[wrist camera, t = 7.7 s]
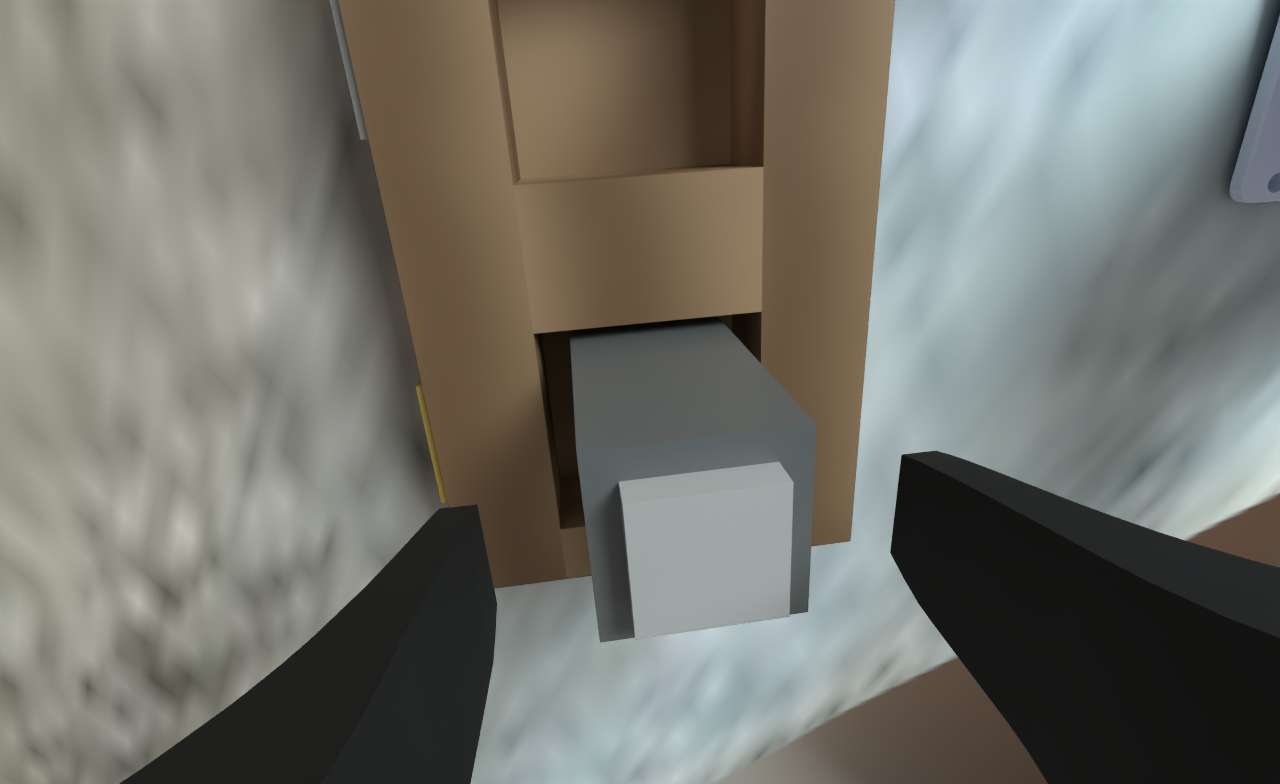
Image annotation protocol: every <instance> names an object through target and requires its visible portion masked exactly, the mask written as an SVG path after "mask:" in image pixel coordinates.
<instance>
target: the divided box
mask: <svg viewBox="0 0 1280 784" xmlns="http://www.w3.org/2000/svg"><path fill="white" fill-rule="evenodd" d="M329 1H330V5H331V10H332V14H333V19H334V23H335V27H336V32H337V36H338V41H339V45H340V50H341V54H342V59H343V63H344V68H345V72H346V77H347V81H348V86H349V90H350V95H351V99H352V104H353V108H354V113H355V117H356V122H357V126H358V131H359V135H360V140H369V144H370V148H371V153H372V158H373V162H374V167H375V171H376V176H377V181H378V185H379V190H380V194H381V199H382V204H383V208H384V213H385V217H386V222H387V227H388V231H389V236H390V240H391V245H392V249H393V254H394V259H395V263H396V268H397V272H398V277H399V282H400V286H401V291H402V295H403V300H404V305H405V309H406V314H407V318H408V323H409V327H410V332H411V337H412V341H413V346H414V350H415V355H416V360H417V364H418V369H419V373H420V378H421V379H420V380H419V382H418V384H417V385H416V391H417V396H418V400H419V405H420V409H421V414H422V418H423V423H424V427H425V432H426V436H427V441H428V445H429V450H430V454H431V459H432V463H433V468H434V472H435V477H436V481H437V486H438V490H439V495H440V499H441V504H444V503H448V506H449V508H450V507H459V506H467V505H476V504H477V505H478V510H479V515H480V520H481V525H482V531H483V536H484V541H485V546H486V551H487V556H488V561H489V566H490V571H491V576H492V581H493V586H494V588H501V587H509V586H516V585H524V584H531V583H539V582H547V581H554V580H562V579H569V578H577V577H584V576H592V573H591V565H590V557H589V549H588V541H587V533H586V525H585V517H584V509H583V501H582V493H581V485H580V477H579V469H578V461H577V453H576V436H575V418H574V399H573V381H572V363H571V345H570V330H577V329H587V328H598V327H608V326H618V325H629V324H639V323H649V322H660V321H670V320H681V319H691V318H701V317H712V316H718V318H719V319H720V320H721V321H722V322H723V323H724V324H725V325H726V326H727V327H728V328H729V330H730V331H731V332H732V333H733V334H734V335H735V336H736V337H737V338H738V339H739V340H740V341H741V343H742V344H743V345H744V346H745V347H746V348H747V349H748V350H749V351H750V352H751V353H752V354H753V356H754V357H755V358H756V359H757V360H758V361H759V362H760V363H761V364H762V365H763V366H764V367H765V369H766V370H767V371H768V372H769V373H770V374H771V375H772V376H773V377H774V378H775V379H776V381H777V382H778V383H779V384H780V385H781V386H782V387H783V388H784V389H785V390H786V391H787V392H788V394H789V395H790V396H791V397H792V398H793V399H794V400H795V401H796V402H797V403H798V404H799V405H800V407H801V408H802V409H803V410H804V411H805V412H806V413H807V414H808V415H809V416H810V417H811V418H812V420H813V421H814V422H815V423H816V424H817V425H816V447H815V469H814V490H813V512H812V534H811V546H818V545H825V544H833V543H840V542H848V541H850V538H851V526H852V514H853V502H854V490H855V478H856V466H857V454H858V442H859V430H860V418H861V406H862V394H863V381H864V369H865V357H866V345H867V333H868V321H869V309H870V297H871V285H872V273H873V261H874V249H875V237H876V224H877V212H878V200H879V188H880V176H881V164H882V152H883V140H884V128H885V116H886V104H887V92H888V80H889V67H890V55H891V43H892V31H893V19H894V7H895V0H329Z"/></svg>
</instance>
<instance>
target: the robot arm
mask: <svg viewBox="0 0 1280 784" xmlns="http://www.w3.org/2000/svg"><path fill="white" fill-rule="evenodd" d="M1269 181H1270V182H1269ZM1268 183H1269V184H1268ZM1229 192H1230V195H1231V198H1232V199H1233V200H1234V201H1237V202H1245V203H1260V202H1272V201H1280V16H1279V19H1278V23H1277V26H1276V30H1275V33H1274V36H1273V40H1272V43H1271V47H1270V50H1269V53H1268V57H1267V60H1266V64H1265V67H1264V71H1263V74H1262V77H1261V81H1260V84H1259V88H1258V91H1257V94H1256V98H1255V101H1254V105H1253V108H1252V112H1251V115H1250V118H1249V122H1248V125H1247V129H1246V132H1245V135H1244V139H1243V142H1242V146H1241V149H1240V153H1239V156H1238V159H1237V163H1236V166H1235V170H1234V173H1233V176H1232V180H1231V183H1230V190H1229ZM890 553H891V555H892V557H893V559H894V561H895V562H896V564H897V566H898V568H899V570H900V572H901V574H902V576H903V577H904V579H905V581H906V583H907V585H908V586H909V588H910V590H911V591H912V593H913V595H914V597H915V598H916V600H917V602H918V603H919V605H920V606H921V608H922V609H923V610H924V612H925V613H926V614H927V616H928V617H929V619H930V620H931V621H932V623H933V624H934V625H935V627H936V628H937V629H938V631H939V632H940V633H941V635H942V636H943V637H944V639H945V640H946V642H947V643H948V644H949V646H950V647H951V648H952V649H953V651H954V652H955V653H956V655H957V656H958V657H959V659H960V660H961V661H962V663H963V664H964V665H965V667H966V668H967V669H968V671H969V672H970V673H971V675H972V676H973V677H974V678H975V680H976V681H977V682H978V684H979V685H980V686H981V688H982V689H983V690H984V692H985V693H986V694H987V695H988V697H989V698H990V700H991V701H992V702H993V704H994V705H995V706H996V708H997V709H998V710H999V712H1000V713H1001V714H1002V715H1003V717H1004V718H1005V719H1006V721H1007V722H1008V723H1009V725H1010V726H1011V728H1012V729H1013V731H1014V732H1015V733H1016V735H1017V736H1018V738H1019V739H1020V741H1021V742H1022V743H1023V745H1024V746H1025V748H1026V749H1027V751H1028V752H1029V753H1030V755H1031V757H1032V758H1033V760H1034V762H1035V763H1036V765H1037V767H1038V768H1039V770H1040V771H1041V773H1042V775H1043V776H1044V778H1045V779H1046V781H1047V783H1048V784H1280V568H1278V567H1275V566H1271V565H1267V564H1263V563H1260V562H1256V561H1252V560H1249V559H1245V558H1242V557H1238V556H1235V555H1232V554H1228V553H1224V552H1221V551H1217V550H1214V549H1211V548H1208V547H1204V546H1201V545H1197V544H1194V543H1190V542H1187V541H1184V540H1181V539H1178V538H1175V537H1172V536H1169V535H1165V534H1162V533H1159V532H1156V531H1153V530H1151V529H1148V528H1145V527H1142V526H1139V525H1136V524H1133V523H1130V522H1128V521H1125V520H1122V519H1119V518H1116V517H1113V516H1110V515H1108V514H1105V513H1102V512H1099V511H1097V510H1094V509H1091V508H1089V507H1086V506H1083V505H1081V504H1078V503H1075V502H1073V501H1070V500H1067V499H1065V498H1062V497H1060V496H1057V495H1054V494H1052V493H1049V492H1047V491H1044V490H1042V489H1039V488H1037V487H1034V486H1031V485H1029V484H1026V483H1024V482H1021V481H1019V480H1016V479H1014V478H1011V477H1009V476H1006V475H1004V474H1001V473H998V472H996V471H993V470H991V469H988V468H986V467H983V466H980V465H978V464H975V463H972V462H969V461H967V460H964V459H961V458H958V457H955V456H952V455H949V454H945V453H942V452H938V451H930V452H921V453H913V454H904V455H902V457H901V465H900V474H899V482H898V491H897V500H896V508H895V517H894V525H893V534H892V543H891V551H890ZM496 612H497V602H496V597H495V592H494V586H493V581H492V576H491V571H490V566H489V561H488V556H487V551H486V546H485V541H484V536H483V531H482V525H481V520H480V515H479V510H478V505H477V504H476V505H467V506H459V507H450V508H442V509H439V510H438V511H437V512H436V513H435V514H434V515H433V516H432V517H431V518H430V519H429V520H428V521H427V522H426V523H425V524H424V525H423V526H422V527H421V528H420V530H419V531H418V532H417V533H416V534H415V535H414V536H413V537H412V538H411V539H410V540H409V542H408V543H407V544H406V545H405V546H404V547H403V548H402V549H401V550H400V551H399V552H398V553H397V554H396V556H395V557H394V558H393V559H392V560H391V561H390V562H389V563H388V564H387V565H386V566H385V567H384V568H383V569H382V570H381V571H380V572H379V573H378V574H377V575H376V576H375V578H374V579H373V580H372V581H371V582H370V583H369V584H368V585H367V586H366V587H365V588H364V589H363V590H362V591H361V592H360V593H359V594H358V595H357V596H356V597H354V598H353V599H352V600H351V601H350V602H349V603H348V604H347V605H346V606H345V607H344V608H343V609H342V610H341V611H340V612H339V613H338V614H337V615H336V616H335V617H333V618H332V619H331V620H330V621H329V622H328V623H327V624H326V625H325V626H324V627H323V628H322V629H321V630H320V631H319V632H318V633H317V634H316V635H315V636H314V637H312V638H311V639H310V640H309V641H308V642H307V643H306V644H304V645H303V646H302V647H301V648H300V649H299V650H298V651H296V652H295V653H294V654H293V655H292V656H291V657H289V658H288V659H287V660H286V661H285V662H284V663H282V664H281V665H280V666H279V667H278V668H276V669H275V670H274V671H273V672H271V673H270V674H269V675H268V676H266V677H265V678H264V679H263V680H262V681H260V682H259V683H258V684H257V685H255V686H254V687H253V688H252V689H250V690H249V691H248V692H247V693H245V694H244V695H243V696H242V697H240V698H239V699H238V700H236V701H235V702H234V703H232V704H231V705H230V706H229V707H227V708H226V709H224V710H223V711H222V712H220V713H219V714H218V715H216V716H215V717H213V718H212V719H211V720H209V721H208V722H206V723H205V724H204V725H202V726H201V727H199V728H198V729H197V730H195V731H194V732H193V733H191V734H190V735H188V736H187V737H186V738H184V739H183V740H181V741H180V742H179V743H177V744H176V745H174V746H173V747H172V748H170V749H169V750H167V751H166V752H165V753H163V754H162V755H161V756H159V757H158V758H156V759H155V760H154V761H152V762H151V763H149V764H148V765H147V766H145V767H144V768H142V769H141V770H139V771H138V772H136V773H135V774H133V775H132V776H130V777H129V778H127V779H126V780H124V781H123V782H121V783H120V784H470V782H471V777H472V772H473V767H474V762H475V756H476V751H477V746H478V741H479V736H480V730H481V725H482V720H483V715H484V709H485V704H486V699H487V693H488V688H489V683H490V677H491V672H492V666H493V658H494V644H495V630H496Z"/></svg>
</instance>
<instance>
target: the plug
mask: <svg viewBox="0 0 1280 784" xmlns="http://www.w3.org/2000/svg"><path fill="white" fill-rule="evenodd" d="M570 345H571V363H572V381H573V399H574V418H575V436H576V453H577V461H578V469H579V477H580V485H581V493H582V501H583V509H584V517H585V525H586V533H587V541H588V549H589V557H590V565H591V573H592V581H593V589H594V597H595V605H596V613H597V621H598V629H599V637H600V642H607V641H614V640H620V639H627V638H634V637H635V639H641V638H648V637H654V636H661V635H668V634H675V633H681V632H688V631H695V630H702V629H708V628H715V627H722V626H729V625H736V624H742V623H749V622H756V621H763V620H769V619H776V618H783V617H789V615H790V614H797V613H804V612H808V599H809V577H810V555H811V534H812V512H813V490H814V469H815V447H816V425H817V424H816V423H815V422H814V421H813V420H812V418H811V417H810V416H809V415H808V414H807V413H806V412H805V411H804V410H803V409H802V408H801V407H800V405H799V404H798V403H797V402H796V401H795V400H794V399H793V398H792V397H791V396H790V395H789V394H788V392H787V391H786V390H785V389H784V388H783V387H782V386H781V385H780V384H779V383H778V382H777V381H776V379H775V378H774V377H773V376H772V375H771V374H770V373H769V372H768V371H767V370H766V369H765V367H764V366H763V365H762V364H761V363H760V362H759V361H758V360H757V359H756V358H755V357H754V356H753V354H752V353H751V352H750V351H749V350H748V349H747V348H746V347H745V346H744V345H743V344H742V343H741V341H740V340H739V339H738V338H737V337H736V336H735V335H734V334H733V333H732V332H731V331H730V330H729V328H728V327H727V326H726V325H725V324H724V323H723V322H722V321H721V320H720V319H719V318H718V316H712V317H701V318H691V319H681V320H670V321H660V322H649V323H639V324H629V325H618V326H608V327H598V328H587V329H577V330H570Z"/></svg>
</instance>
